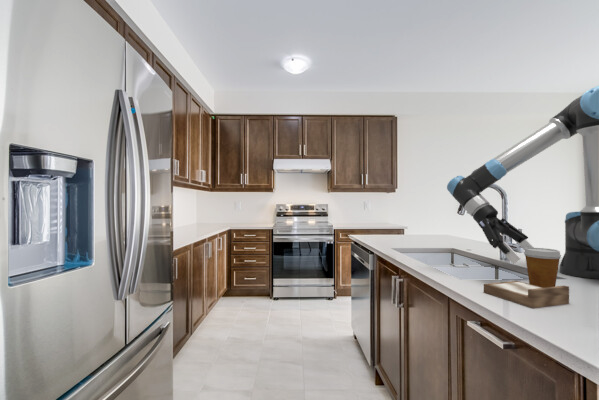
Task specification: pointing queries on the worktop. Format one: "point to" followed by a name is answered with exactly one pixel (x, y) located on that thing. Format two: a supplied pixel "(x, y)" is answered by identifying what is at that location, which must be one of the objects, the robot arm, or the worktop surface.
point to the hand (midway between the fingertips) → (527, 259)
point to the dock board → (529, 293)
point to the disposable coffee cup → (542, 266)
